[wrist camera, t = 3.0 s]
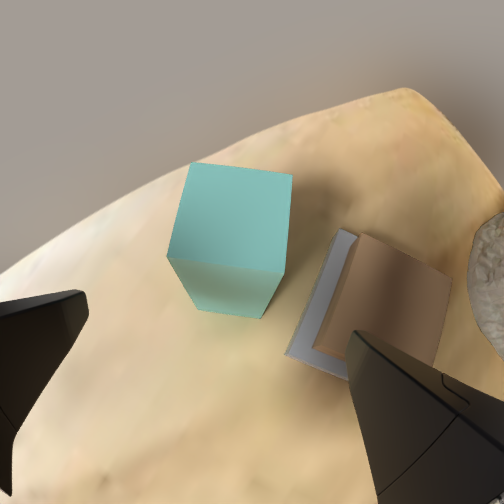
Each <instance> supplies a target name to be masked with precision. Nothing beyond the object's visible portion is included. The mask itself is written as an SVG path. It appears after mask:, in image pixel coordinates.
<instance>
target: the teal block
mask: <svg viewBox="0 0 504 504" xmlns="http://www.w3.org/2000/svg"><path fill="white" fill-rule="evenodd" d="M292 176H293V175H290V174H284V173H277V172H270V171H263V170H256V169H248V168H240V167H232V166H223V165H214V164H205V163H195V162H191V165H190V168H189V171H188V175H187V178H186V182H185V186H184V189H183V193H182V197H181V200H180V204H179V208H178V212H177V216H176V220H175V224H174V228H173V232H172V236H171V240H170V244H169V248H168V253H167V258H168V260H169V262H170V264H171V265H172V267H173V269H174V271H175V272H176V274H177V276H178V277H179V279H180V281H181V282H182V284H183V286H184V288H185V289H186V291H187V293H188V294H189V296H190V298H191V299H192V301H193V302H194V304H195V306H196V307H197V309H198V310H203V311H209V312H216V313H222V314H229V315H236V316H244V317H251V318H259V319H260V318H261V317H262V315H263V313H264V311H265V309H266V307H267V305H268V304H269V302H270V300H271V298H272V296H273V294H274V292H275V290H276V288H277V287H278V285H279V283H280V281H281V279H282V277H283V275H284V272H285V262H286V251H287V240H288V228H289V216H290V203H291V190H292Z"/></svg>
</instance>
